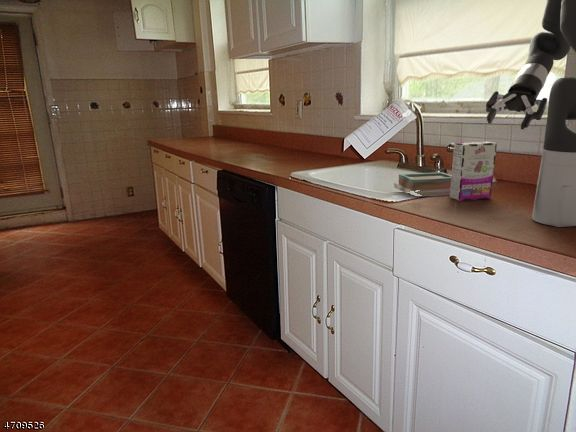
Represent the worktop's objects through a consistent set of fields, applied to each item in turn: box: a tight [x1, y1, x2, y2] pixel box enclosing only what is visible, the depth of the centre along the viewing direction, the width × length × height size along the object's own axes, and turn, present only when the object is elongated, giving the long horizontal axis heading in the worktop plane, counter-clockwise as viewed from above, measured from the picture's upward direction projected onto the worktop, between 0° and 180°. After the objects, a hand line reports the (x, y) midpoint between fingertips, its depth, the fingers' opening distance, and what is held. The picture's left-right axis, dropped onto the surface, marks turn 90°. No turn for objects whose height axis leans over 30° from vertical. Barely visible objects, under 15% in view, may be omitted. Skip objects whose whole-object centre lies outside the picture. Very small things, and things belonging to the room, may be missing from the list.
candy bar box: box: [449, 141, 497, 202], centre depth 124 cm, size 11×5×16 cm, turn 105°
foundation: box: [393, 171, 451, 197], centre depth 136 cm, size 14×16×5 cm
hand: (505, 124), depth 115 cm, fingers open, 8 cm apart
